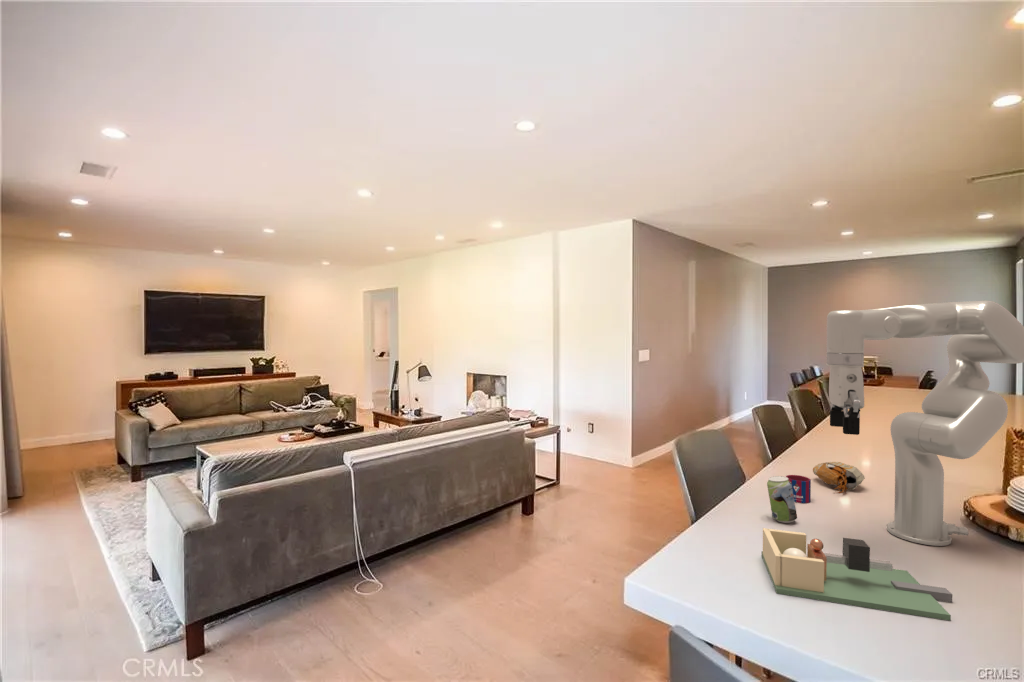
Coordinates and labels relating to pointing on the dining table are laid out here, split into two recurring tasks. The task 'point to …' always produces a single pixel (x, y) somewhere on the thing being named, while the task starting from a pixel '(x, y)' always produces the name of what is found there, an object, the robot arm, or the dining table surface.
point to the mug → (800, 488)
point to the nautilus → (839, 475)
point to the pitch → (847, 581)
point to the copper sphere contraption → (848, 556)
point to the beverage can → (781, 499)
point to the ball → (794, 552)
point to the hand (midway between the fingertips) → (844, 430)
